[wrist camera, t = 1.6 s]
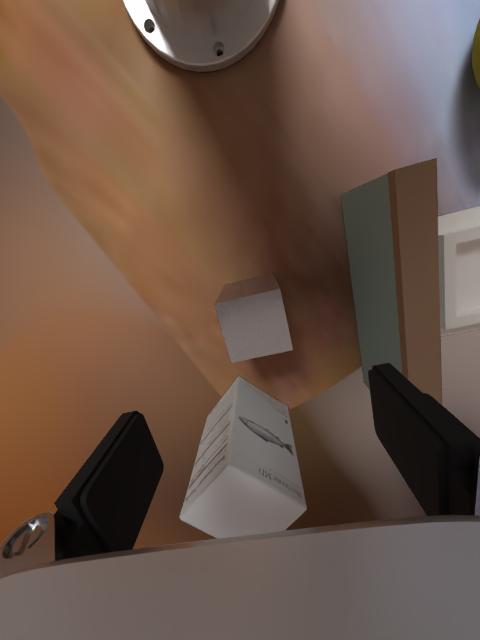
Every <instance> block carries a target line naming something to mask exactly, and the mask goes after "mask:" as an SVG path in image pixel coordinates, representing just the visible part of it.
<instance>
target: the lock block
mask: <svg viewBox="0 0 480 640" xmlns="http://www.w3.org/2000/svg"><path fill="white" fill-rule="evenodd" d="M214 305H215V309H216V312H217V316H218V319H219V323H220V326H221V330H222V333H223V336H224V340H225V343H226V347H227V350H228V354H229V357H230V361H231V363H233V362H238V361H243V360H248V359H253V358H258V357H262V356H267V355H272V354H277V353H282V352H287V351H292V350H293V347H292V343H291V338H290V333H289V328H288V323H287V318H286V314H285V309H284V304H283V299H282V294H281V290H280V287H279V285H278V283H277V281H276V279H275V277H274V275H273V273H272V274H268V275H263V276H259V277H255V278H251V279H247V280H243V281H239V282H235V283H231V284H226V285H225V286H224V288H223V290H222V291H221V293H220V295H219V297H218V298H217V300H216V302H215V303H214Z"/></svg>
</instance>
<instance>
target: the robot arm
mask: <svg viewBox="0 0 480 640" xmlns="http://www.w3.org/2000/svg"><path fill="white" fill-rule="evenodd" d="M279 1H280V0H123V3H124V6H125V8H126V10H127V12H128V14H129V16H130V18H131V20H132V22H133V23H134V25H135V27H136V28H137V30H138V31H139V33H140V34H141V36H142V37H143V39H144V40H145V42H146V43H147V44H148V45H149V46H150V47H151V48H152V49H153V50H154V51H155V52H156V53H157V54H158V55H159V56H161V57H162V58H164V59H165V60H166V61H168V62H169V63H171V64H173V65H175V66H178V67H180V68H182V69H186V70H191V71H196V72H207V71H215V70H218V69H222V68H225V67H228V66H229V65H231V64H233V63H235V62H237V61H239V60H240V59H241V58H243V57H244V56H245V55H246V54H247V53H248V52H250V51H251V50H252V49H253V48H254V47H255V45H256V44H257V43H258V42H259V40H260V39H261V38H262V36H263V35H264V34H265V32H266V30H267V28H268V26H269V25H270V23H271V21H272V19H273V17H274V14H275V12H276V9H277V6H278V3H279ZM153 31H154V32H153ZM152 32H153V33H152ZM219 53H222V55H221V56H217V55H218V54H219ZM368 378H369V386H370V394H371V402H372V410H373V418H374V426H375V431H376V434H377V436H378V438H379V440H380V441H381V443H382V444H383V446H384V448H385V449H386V451H387V452H388V454H389V456H390V457H391V459H392V460H393V462H394V464H395V465H396V467H397V468H398V470H399V472H400V473H401V475H402V476H403V478H404V479H405V481H406V483H407V484H408V486H409V488H410V489H411V491H412V492H413V494H414V496H415V497H416V499H417V500H418V502H419V504H420V505H421V507H422V508H423V510H424V511H425V513H426V515H427V516H418V517H408V518H398V519H388V520H377V521H366V522H357V523H348V524H339V525H331V526H322V527H313V528H305V529H296V530H287V531H278V532H270V533H261V534H253V535H245V536H236V537H228V538H220V539H212V540H204V541H196V542H187V543H179V544H172V545H164V546H156V547H148V548H140V549H133V547H134V544H135V542H136V539H137V537H138V534H139V531H140V529H141V526H142V524H143V521H144V519H145V516H146V514H147V511H148V508H149V506H150V503H151V501H152V498H153V496H154V493H155V491H156V488H157V486H158V483H159V480H160V478H161V476H162V473H163V467H164V466H163V461H162V459H161V456H160V454H159V451H158V449H157V447H156V444H155V442H154V440H153V437H152V435H151V432H150V430H149V428H148V425H147V423H146V420H145V418H144V416H143V414H140V413H139V412H138V411H133V412H128V413H123V414H122V415H121V416H120V417H119V419H118V420H117V421H116V423H115V424H114V425H113V426H112V428H111V429H110V430H109V432H108V433H107V434H106V436H105V437H104V438H103V440H102V441H101V442H100V444H99V445H98V446H97V448H96V449H95V450H94V452H93V453H92V454H91V456H90V457H89V458H88V459H87V461H86V462H85V463H84V465H83V466H82V467H81V469H80V470H79V471H78V473H77V474H76V475H75V477H74V478H73V479H72V480H71V482H70V483H69V484H68V486H67V487H66V489H65V490H64V491H63V492H62V494H61V495H60V496H59V498H58V499H57V500H56V502H55V503H54V504H55V505H56V507H57V508H58V510H57V512H56V513H55V514H54V515H53V514H52V513H50V512H43V513H40V514H37V515H35V516H33V517H32V518H30V519H28V520H27V521H25V522H24V523H22V524H21V525H20V526H18V527H17V528H16V529H15V530H14V531H13V532H12V533H11V534H10V535H9V536H8V537H7V539H6V540H5V541H4V542H3V543H2V545H1V546H0V640H480V438H478V437H477V436H476V435H475V434H474V433H473V432H472V431H471V430H469V429H468V428H467V427H466V426H465V425H464V424H463V423H461V422H460V421H459V420H458V419H457V418H456V417H455V416H454V415H452V414H451V413H450V412H449V411H448V410H447V409H446V408H444V407H443V406H442V405H441V404H440V403H439V402H438V401H437V400H435V399H434V398H433V397H432V396H431V395H429V394H427V393H422V392H421V391H420V390H419V389H418V388H417V387H416V386H415V385H413V384H412V383H411V382H410V381H409V380H408V379H407V378H406V377H405V376H404V375H402V374H401V373H400V372H399V371H398V370H397V369H396V368H395V367H394V366H393V365H391V364H390V363H384V364H379V365H373V366H372V370H369V371H368Z"/></svg>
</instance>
